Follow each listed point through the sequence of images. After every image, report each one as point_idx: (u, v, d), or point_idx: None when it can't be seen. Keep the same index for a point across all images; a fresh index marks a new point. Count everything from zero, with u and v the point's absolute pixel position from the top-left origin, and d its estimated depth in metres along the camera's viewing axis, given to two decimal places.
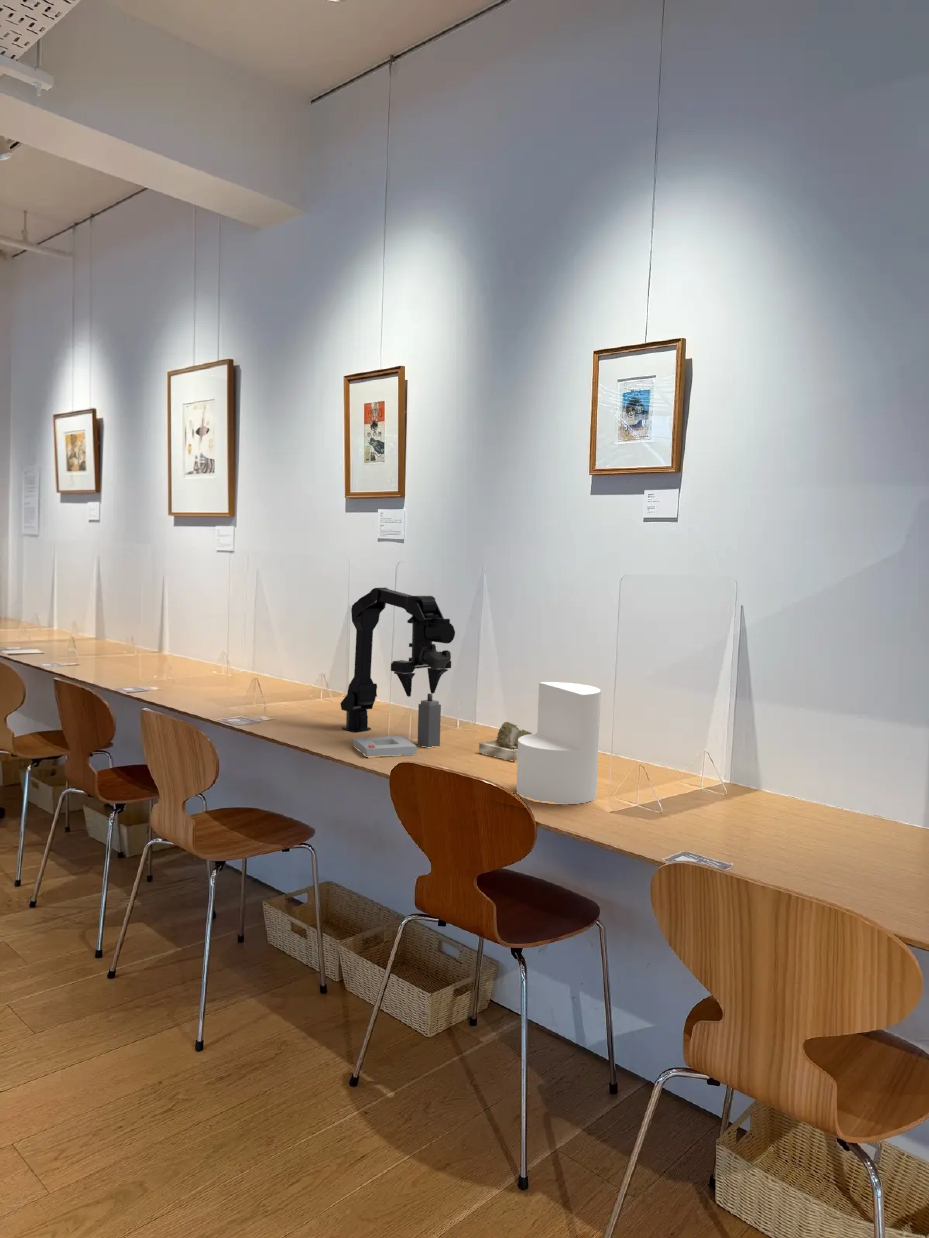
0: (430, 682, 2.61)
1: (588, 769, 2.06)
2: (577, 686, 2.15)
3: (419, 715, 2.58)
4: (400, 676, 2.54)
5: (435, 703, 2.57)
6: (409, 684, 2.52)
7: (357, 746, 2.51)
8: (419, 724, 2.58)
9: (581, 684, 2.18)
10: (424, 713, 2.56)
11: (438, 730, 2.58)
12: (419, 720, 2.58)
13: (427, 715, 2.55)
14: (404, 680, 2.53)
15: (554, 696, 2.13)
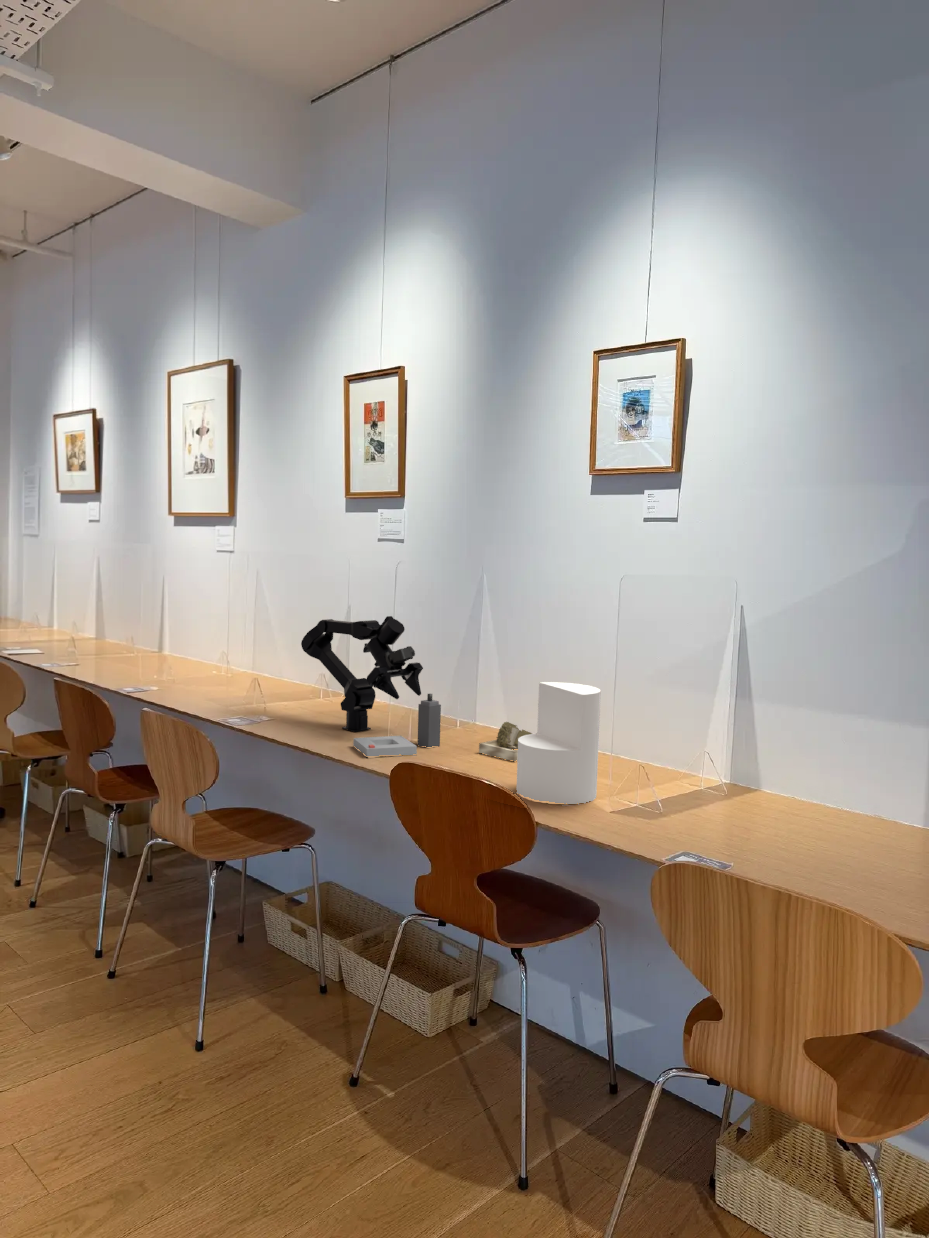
0: (413, 688, 2.68)
1: (588, 769, 2.06)
2: (577, 686, 2.15)
3: (419, 715, 2.58)
4: (381, 687, 2.61)
5: (435, 703, 2.57)
6: (391, 686, 2.60)
7: (357, 746, 2.51)
8: (419, 724, 2.58)
9: (581, 684, 2.18)
10: (424, 713, 2.56)
11: (438, 730, 2.58)
12: (419, 720, 2.58)
13: (427, 715, 2.55)
14: (386, 687, 2.61)
15: (554, 696, 2.13)
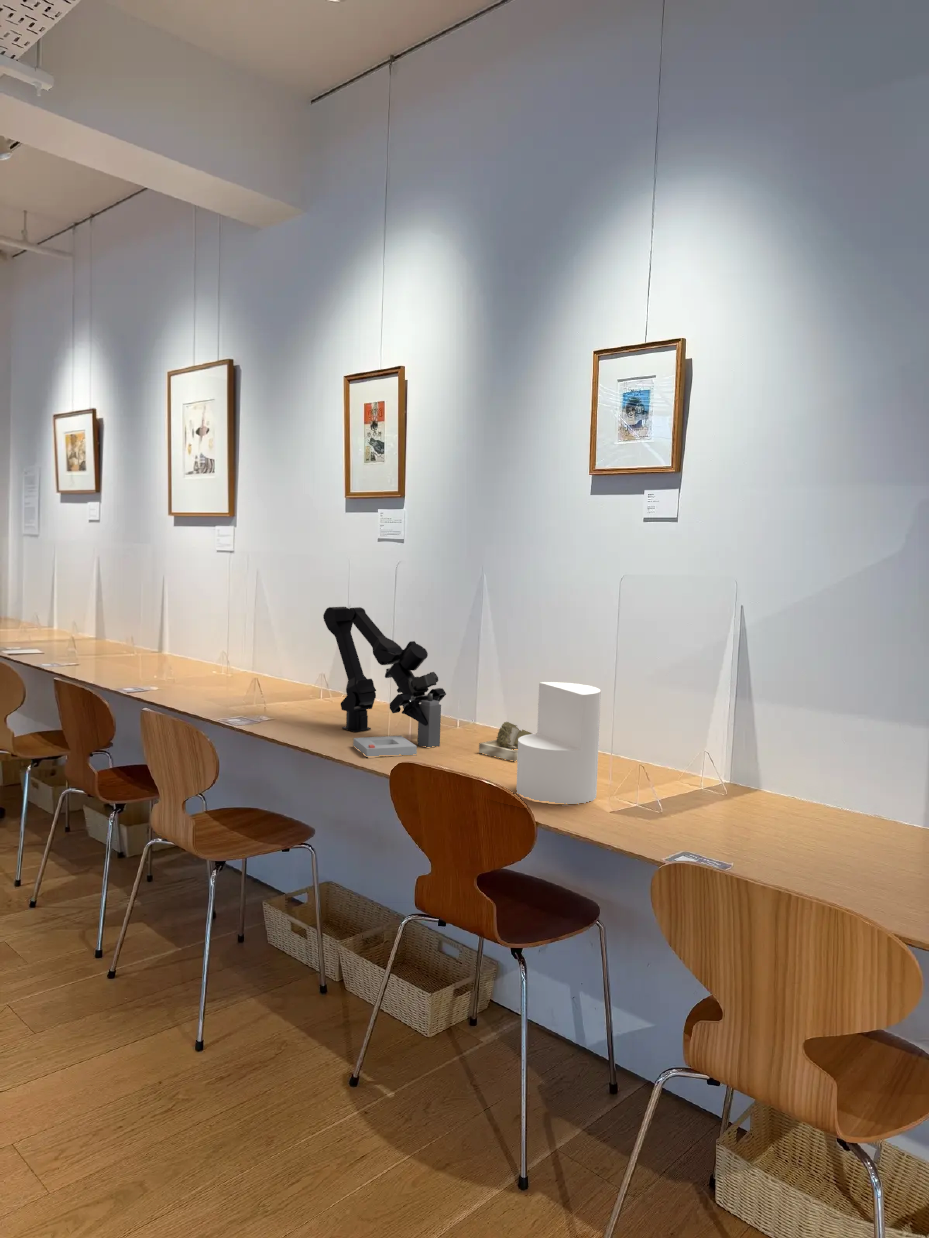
0: None
1: (588, 769, 2.06)
2: (577, 686, 2.15)
3: None
4: (409, 713, 2.57)
5: (435, 703, 2.57)
6: (420, 712, 2.56)
7: (357, 746, 2.51)
8: (419, 724, 2.58)
9: (581, 684, 2.18)
10: (424, 713, 2.56)
11: (438, 730, 2.58)
12: None
13: (428, 715, 2.55)
14: (414, 713, 2.57)
15: (554, 696, 2.13)
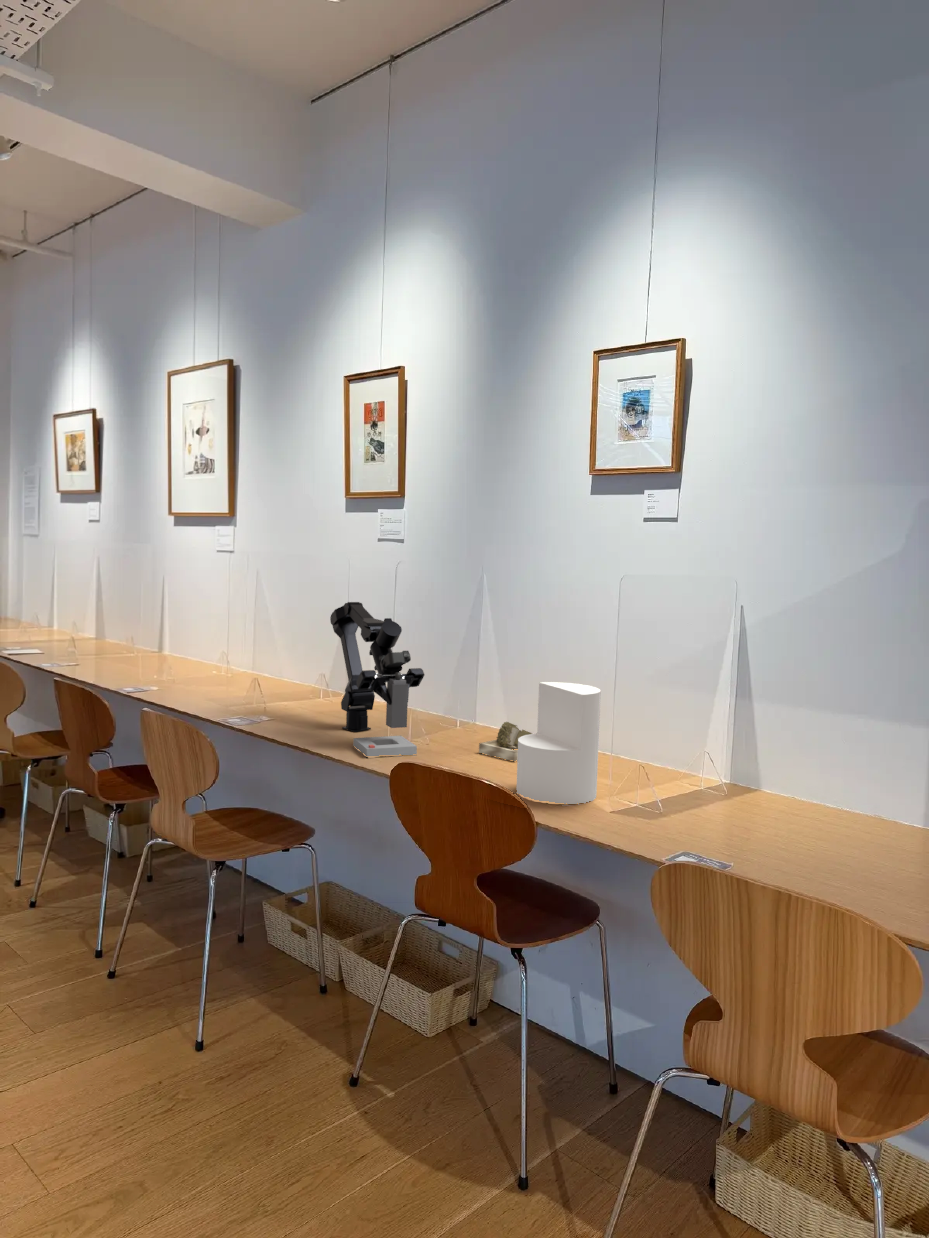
0: None
1: (588, 769, 2.06)
2: (577, 686, 2.14)
3: None
4: (377, 691, 2.52)
5: (401, 682, 2.49)
6: (385, 690, 2.50)
7: (357, 746, 2.51)
8: (387, 703, 2.52)
9: (581, 684, 2.18)
10: (390, 691, 2.50)
11: (405, 710, 2.50)
12: None
13: (391, 694, 2.48)
14: (381, 691, 2.51)
15: (554, 696, 2.13)
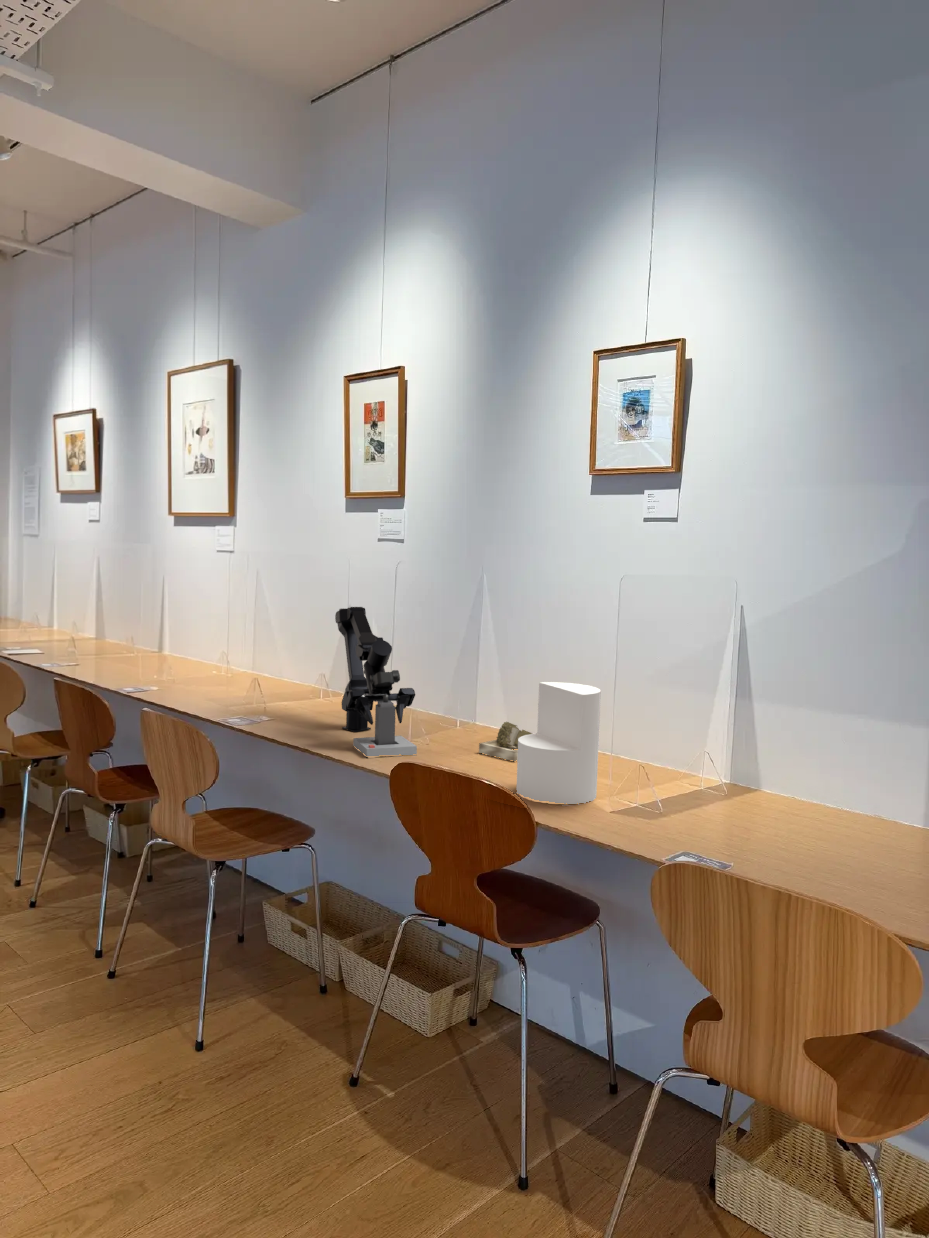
0: (397, 715, 2.53)
1: (588, 769, 2.06)
2: (577, 686, 2.15)
3: (375, 716, 2.51)
4: (360, 710, 2.51)
5: (388, 705, 2.48)
6: (367, 710, 2.49)
7: (357, 746, 2.51)
8: (375, 725, 2.51)
9: (581, 684, 2.18)
10: (377, 714, 2.49)
11: (392, 733, 2.49)
12: (375, 721, 2.51)
13: (378, 716, 2.48)
14: (364, 711, 2.50)
15: (554, 696, 2.13)
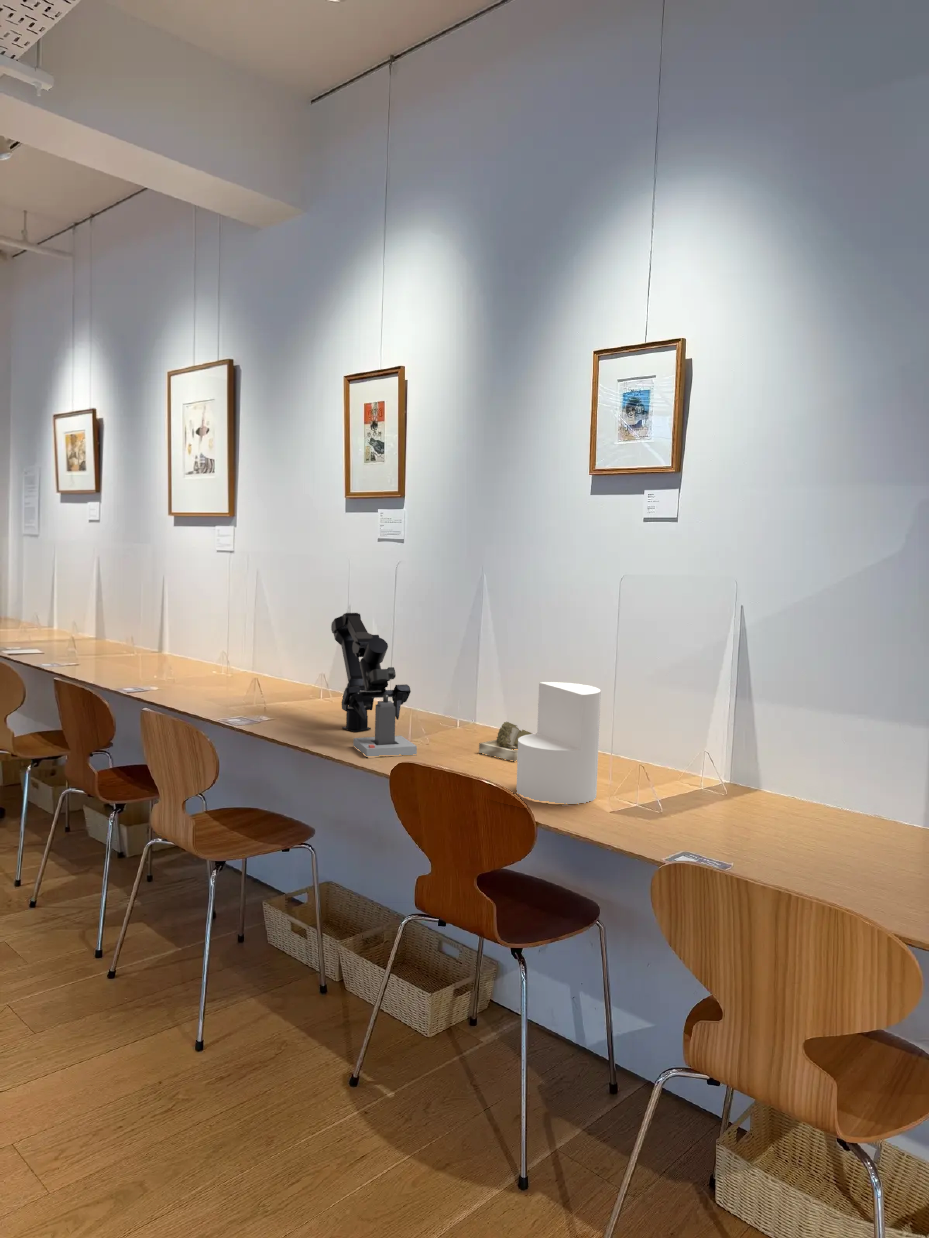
0: (395, 711, 2.57)
1: (588, 769, 2.06)
2: (577, 686, 2.14)
3: (375, 716, 2.51)
4: (355, 706, 2.55)
5: (388, 705, 2.48)
6: (361, 707, 2.52)
7: (357, 746, 2.51)
8: (375, 725, 2.51)
9: (581, 684, 2.18)
10: (377, 714, 2.49)
11: (392, 733, 2.49)
12: (375, 721, 2.51)
13: (378, 716, 2.48)
14: (358, 707, 2.54)
15: (554, 696, 2.13)
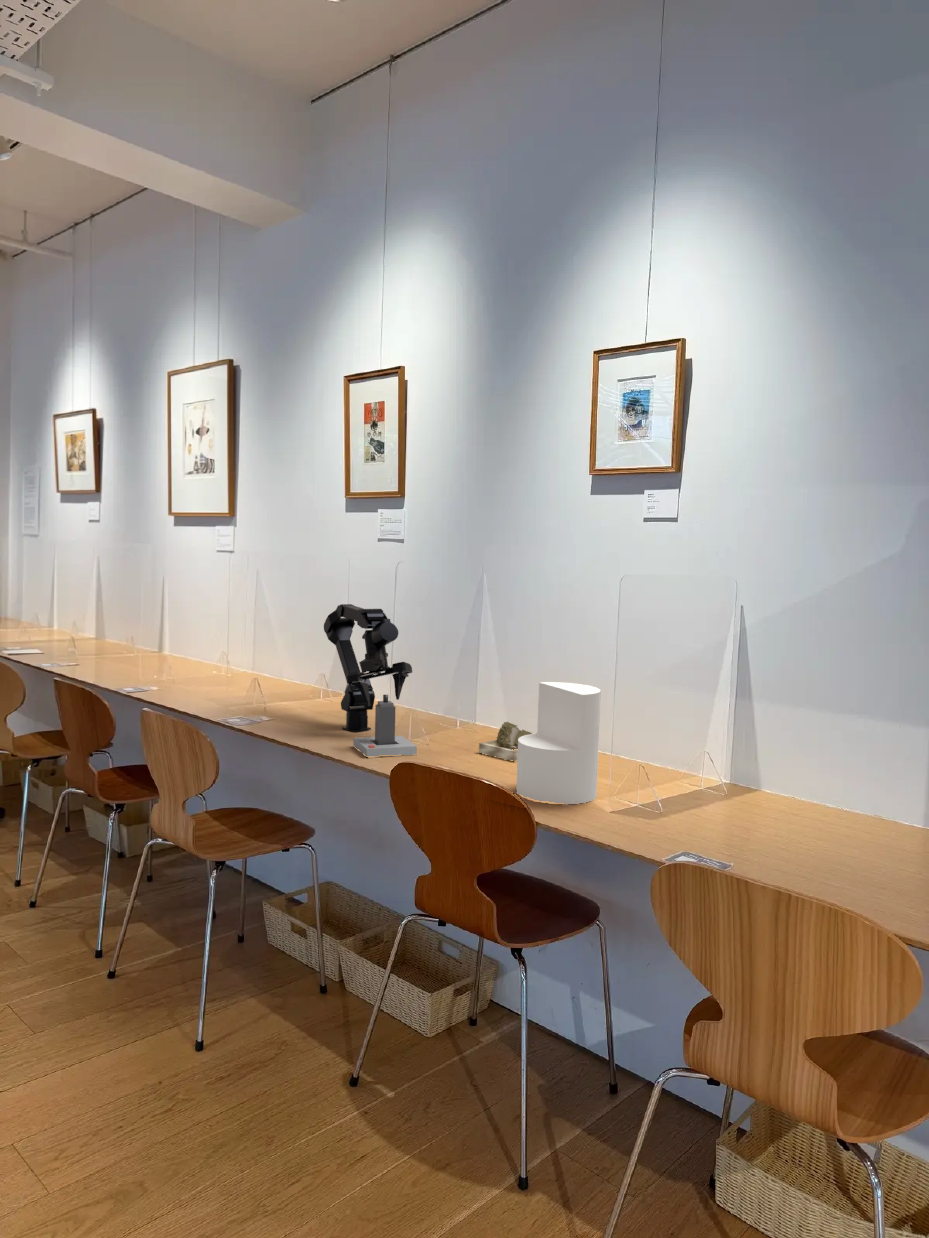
0: None
1: (588, 769, 2.06)
2: (577, 686, 2.14)
3: (375, 716, 2.51)
4: None
5: (388, 705, 2.48)
6: (362, 693, 2.63)
7: (357, 746, 2.51)
8: (375, 725, 2.51)
9: (581, 684, 2.18)
10: (377, 714, 2.49)
11: (392, 733, 2.49)
12: (375, 721, 2.51)
13: (378, 716, 2.48)
14: None
15: (554, 696, 2.13)
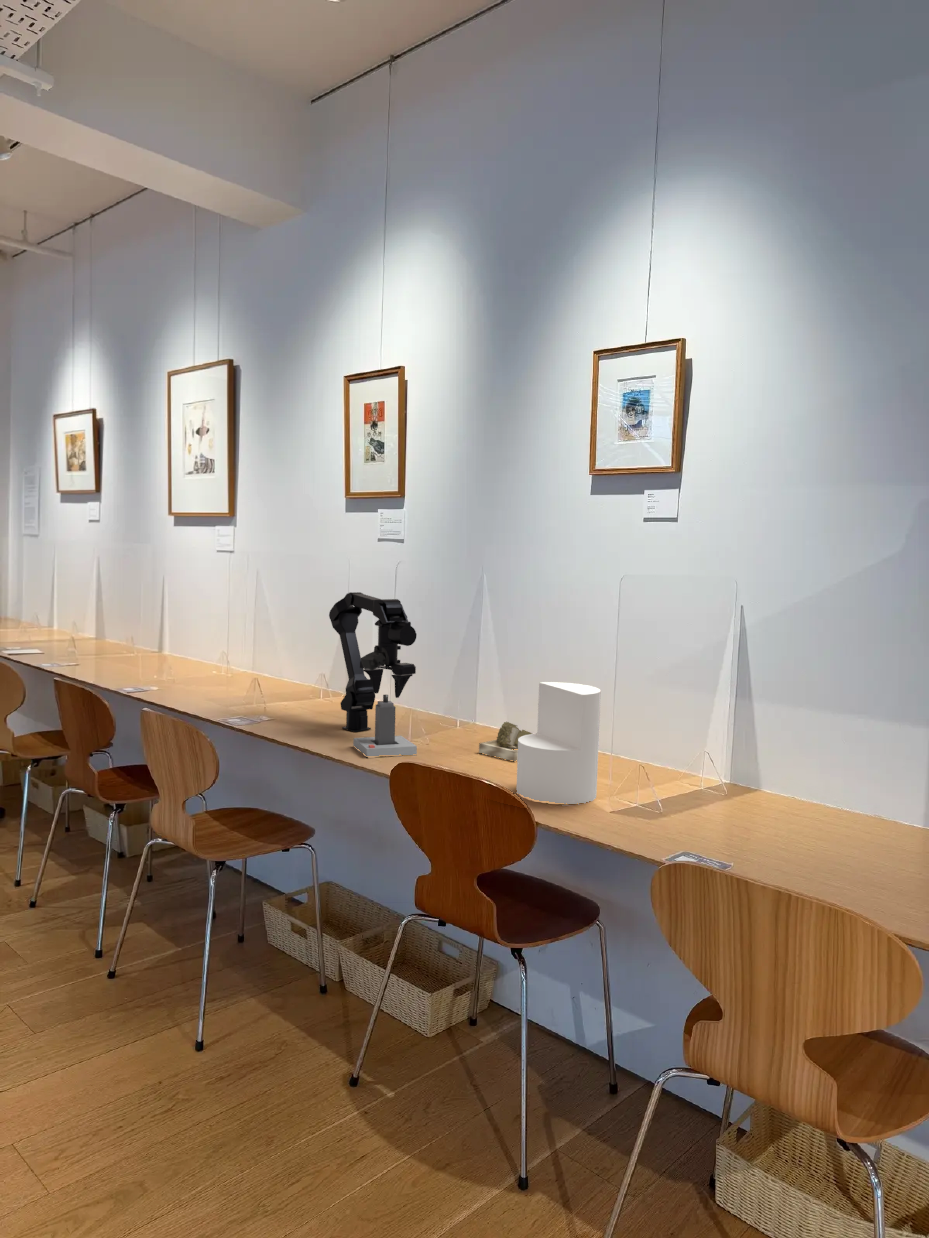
0: None
1: (588, 769, 2.06)
2: (577, 686, 2.14)
3: (375, 716, 2.51)
4: None
5: (388, 705, 2.48)
6: (371, 681, 2.67)
7: (357, 746, 2.51)
8: (375, 725, 2.51)
9: (581, 684, 2.18)
10: (377, 714, 2.49)
11: (392, 733, 2.49)
12: (375, 721, 2.51)
13: (378, 716, 2.48)
14: None
15: (554, 696, 2.13)
